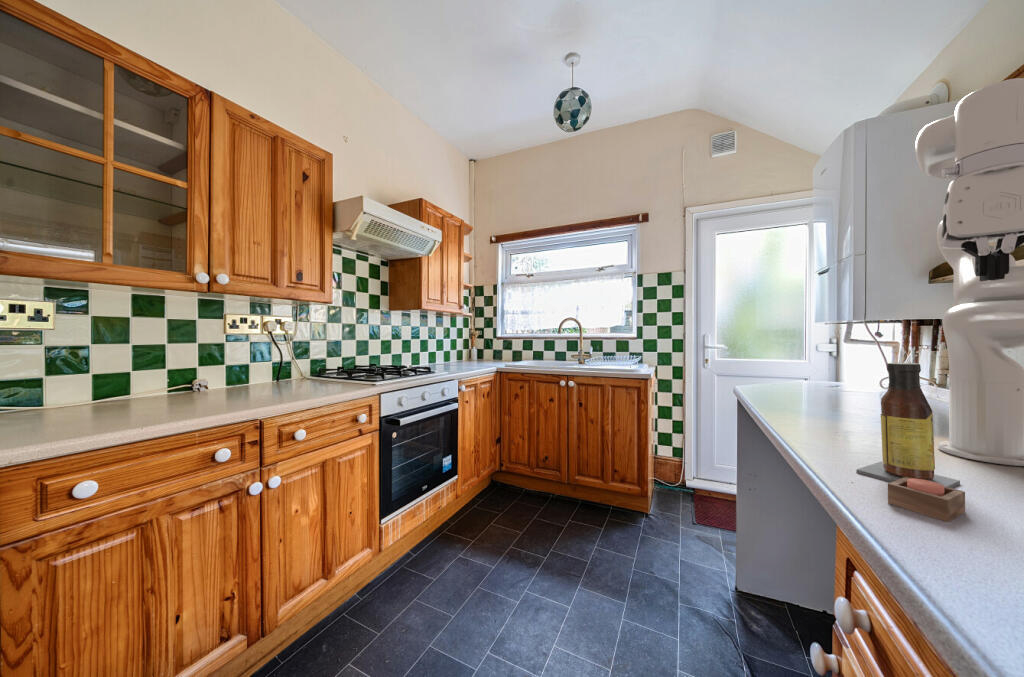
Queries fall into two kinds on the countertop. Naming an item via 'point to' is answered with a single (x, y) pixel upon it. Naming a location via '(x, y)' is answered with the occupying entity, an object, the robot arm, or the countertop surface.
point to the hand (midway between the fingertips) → (991, 279)
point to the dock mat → (881, 473)
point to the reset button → (926, 486)
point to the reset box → (927, 500)
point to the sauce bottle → (907, 425)
